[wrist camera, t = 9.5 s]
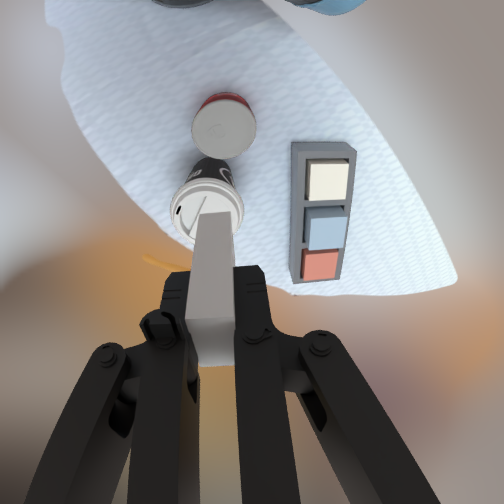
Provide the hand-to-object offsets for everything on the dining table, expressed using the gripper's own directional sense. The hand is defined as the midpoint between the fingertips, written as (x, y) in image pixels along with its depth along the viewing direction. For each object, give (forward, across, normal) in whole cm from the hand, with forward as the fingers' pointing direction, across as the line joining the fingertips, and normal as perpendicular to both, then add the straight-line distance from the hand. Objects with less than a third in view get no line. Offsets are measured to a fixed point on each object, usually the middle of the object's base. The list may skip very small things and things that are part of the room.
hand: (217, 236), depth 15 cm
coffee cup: (+35, -3, -10) cm, 36 cm away
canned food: (+35, 0, 0) cm, 35 cm away
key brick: (+32, +15, -26) cm, 44 cm away
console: (+34, +15, -18) cm, 42 cm away
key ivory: (+32, +15, -10) cm, 37 cm away
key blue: (+30, +15, -18) cm, 38 cm away
